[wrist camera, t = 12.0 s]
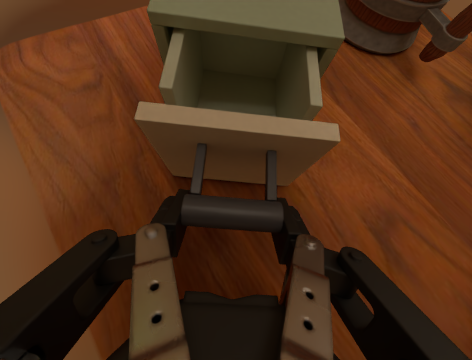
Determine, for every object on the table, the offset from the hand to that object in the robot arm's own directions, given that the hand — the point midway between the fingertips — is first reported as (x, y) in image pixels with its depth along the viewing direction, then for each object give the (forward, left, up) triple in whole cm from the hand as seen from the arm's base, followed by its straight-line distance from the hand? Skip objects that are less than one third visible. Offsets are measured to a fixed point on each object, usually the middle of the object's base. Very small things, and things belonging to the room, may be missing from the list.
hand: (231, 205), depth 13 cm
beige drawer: (+5, +6, -5) cm, 9 cm away
